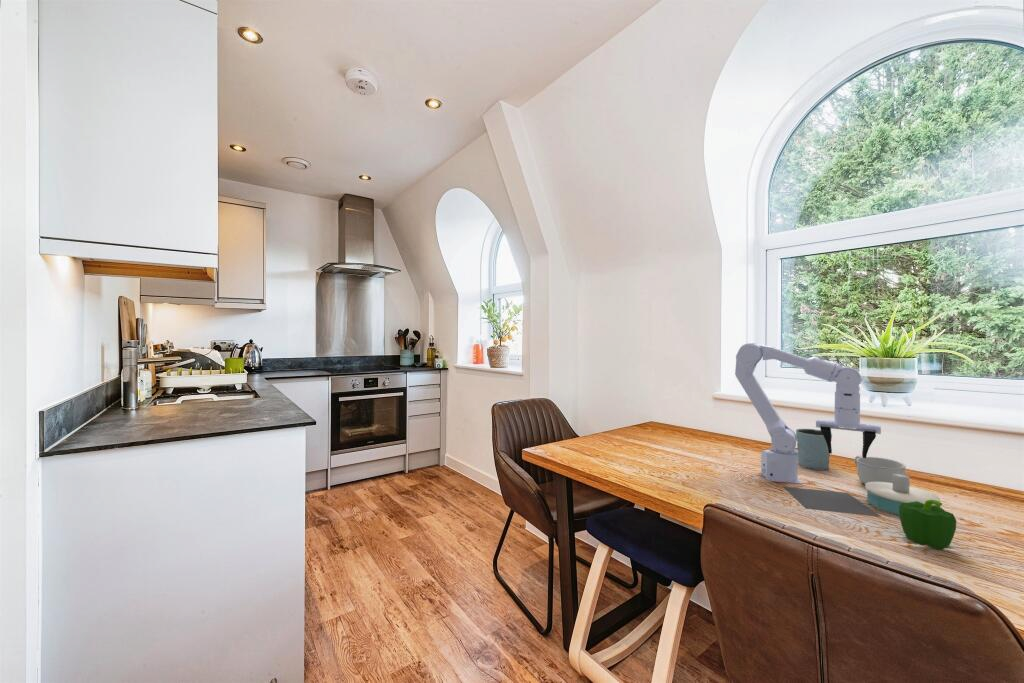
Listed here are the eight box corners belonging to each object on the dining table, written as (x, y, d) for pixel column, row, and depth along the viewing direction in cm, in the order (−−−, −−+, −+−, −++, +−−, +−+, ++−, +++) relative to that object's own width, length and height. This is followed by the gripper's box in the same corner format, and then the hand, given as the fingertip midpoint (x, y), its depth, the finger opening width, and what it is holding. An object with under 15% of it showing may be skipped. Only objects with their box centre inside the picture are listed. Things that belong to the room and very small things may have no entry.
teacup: (915, 496, 114) (915, 468, 114) (870, 493, 116) (871, 465, 116) (881, 479, 128) (881, 454, 128) (842, 477, 130) (842, 452, 130)
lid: (883, 501, 100) (883, 481, 100) (854, 482, 114) (854, 465, 114) (955, 508, 96) (955, 488, 96) (916, 488, 110) (916, 470, 110)
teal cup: (829, 464, 143) (830, 430, 143) (833, 472, 134) (834, 436, 134) (794, 460, 148) (795, 427, 148) (796, 467, 140) (796, 432, 140)
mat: (805, 510, 104) (805, 508, 104) (783, 488, 119) (783, 486, 119) (881, 518, 100) (881, 516, 100) (847, 494, 115) (847, 492, 115)
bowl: (886, 516, 101) (886, 500, 101) (860, 498, 112) (860, 483, 112) (947, 522, 98) (947, 506, 98) (913, 503, 109) (913, 488, 109)
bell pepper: (890, 531, 93) (891, 488, 93) (935, 537, 90) (936, 492, 90) (914, 550, 85) (915, 502, 85) (965, 556, 82) (966, 507, 82)
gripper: (816, 407, 119) (815, 453, 119) (882, 413, 111) (882, 462, 111) (815, 404, 125) (815, 448, 125) (879, 409, 116) (878, 456, 116)
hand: (846, 455), depth 118 cm, fingers open, 7 cm apart
